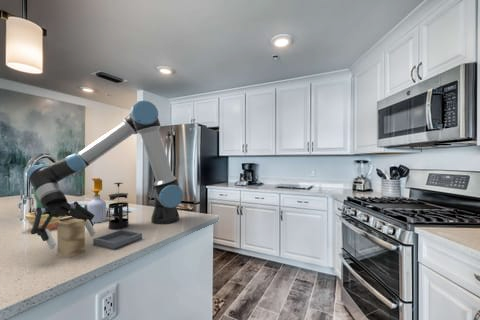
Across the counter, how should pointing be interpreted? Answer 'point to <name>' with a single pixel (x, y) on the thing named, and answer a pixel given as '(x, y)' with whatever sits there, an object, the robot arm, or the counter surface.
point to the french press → (118, 211)
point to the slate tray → (117, 239)
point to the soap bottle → (97, 203)
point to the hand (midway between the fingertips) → (74, 240)
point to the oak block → (71, 237)
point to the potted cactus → (44, 216)
